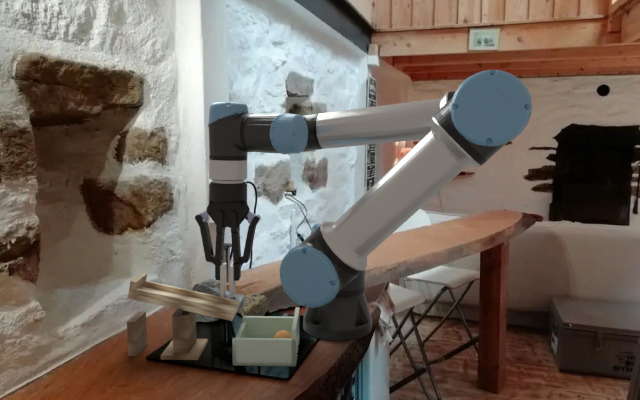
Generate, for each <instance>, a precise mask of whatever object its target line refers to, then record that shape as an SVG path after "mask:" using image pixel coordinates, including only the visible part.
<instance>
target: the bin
mask: <svg viewBox="0 0 640 400" xmlns="http://www.w3.org/2000/svg"><path fill="white" fill-rule="evenodd" d="M300 312H301V311H300V306H296V307H295V309H294V313H293V315H294V316H282V315H281V316H279V315H277V316H274V315H273V316H271V315H269V316H268V315H267V316H265V315H264V316H242V323H241V324H240V327H239V329H238V331H237V334H236V336H235V337H232V341H231V342H232V343H231V346H232V347H231V348H232V349H231V351H232V356H231V357H232V366H239V367H240V366H245V367H246V366H248V367H251V366H252V367H256V366H257V367H296V366H297V360H298V354H297V353H299V347H300V346H299V345H300V321H301V320H300V314H301V313H300ZM281 330H285V331H288V332H289V333H290V334H291V338H274V336H275V334H276V333H277V332H278V331H281ZM298 346H299V347H298Z"/></svg>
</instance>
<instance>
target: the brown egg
mask: <svg viewBox="0 0 640 400" xmlns="http://www.w3.org/2000/svg"><path fill="white" fill-rule="evenodd" d="M274 338H291V334H290V333H289V332H288V331H285V330H281V331H278V332H277V333H276V334H275V336H274Z"/></svg>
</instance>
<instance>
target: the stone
mask: <svg viewBox="0 0 640 400" xmlns="http://www.w3.org/2000/svg"><path fill="white" fill-rule="evenodd" d="M191 290H192V291H196V292H201V293H206V294H210V295H215V296H219V297H220V280H216V279H213V278H210V279H206V280H204V281H202V282H198V283H196V284H194V285H193V287H192V289H191ZM226 291H228V289H226ZM219 320H220V318H216V317H211V316H207V315H202V314H197V313H196V323H198V322H199V323H200V322H201V323H212V322H216V321H219Z"/></svg>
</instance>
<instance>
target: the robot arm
mask: <svg viewBox="0 0 640 400" xmlns="http://www.w3.org/2000/svg"><path fill="white" fill-rule="evenodd" d="M532 102H533V101H532V97H531V94H530V92H529V89H528V87H527V86H526V85H525V84H524V83H523V81H522V80H521V79H519V78H518V77H517V76H516V75H514V74H512V73H510V72H507V71H504V70H500V69H488V70H482V71H479V72H476V73H474V74H472V75H470V76H469V77H467V78H465V79H464V80H463V81H462V83H460V84H459V85H458V88H457V89H456V90H454V91H446V92H445V94H444V95H443V96H442V97H440V98H432V99H423V100H417V101H409V102H400V103H393V104H392V103H391V104H386V105H377V106H368V107H361V108H354V109H353V108H352V109H345V110H338V111H331V112H329V111H328V112H323V113H322V112H321V113H312V114H305V115H301V114H297V113H290V112H281V113H279V112H278V113H253V112H252V113H251V112H249V109H248V105H247V104H246V103H242V102H234V101H233V102H232V101H230V102H229V101H228V102H227V101H218V102H217V101H216V102H213V103H211V105H210V106H209V109H208V110H209V111H208V114H209V115H208V124H207V127H208V145H209V146H208V150H209V156H208V157H209V158H208V179H209V180H211V181H210V182H209V183H208V205H207V207H206V210H204V211H202V212H199V213H198V214H196V215H195V217H194V220H195V221H196V223H197V225H198V227H199V231H200V236H201V241H202V242H201V243H202V247H203V253H204V258H205V261H206V262H208V263H212V264H213V265H214V278H215V279H214V280H217V281H219V282H220V297H224V296H225V295H226V290H227V262H224V248H225V235H226V228H229V229H230V233H231V246H232V261H233V262H231V264H230V266H229V292H230V298H233V297H234V296H235V294H236V293H237V292H236V291H237V290H236V289H237V286H236V283H237V282H239V281H240V279H241V277H242V271H241V270H242V265H243V264H247V263H248V262H249V260H250V259H251V254H252V249H253V244H254V239H255V234H256V228H257V225H258V223H259V221H260V220H261V218H262V216H261V215H260V214H255V213H254V212H252V211H251V210H250V207H249V205H248V183H247V182H246V180H248V153H264V154H265V153H266V154H267V153H268V154H281V155H291V154H293V155H295V154H301V153H302V152H310V151H318V150H319V151H321V150H326V149H335V148H336V149H337V148H346V147H356V146H357V147H358V146H368V145H378V144H379V145H380V144H387V143H390V144H391V143H399V142H409V141H418V142H417V144H415V145H414V146H413V147H412V148H411V149H410V150H409V151H408V152H407V153H406V154H405V155H404V156H403V157H402V158H400V160H398V161H397V162H396V164H395V165H393V166H392V167H391V168H390V169H389V170H387V172H386V173H385V174H384V175H383V176H381V178H380V179H378V180H377V181H376V183H375V184H373V185H372V186H371V187H370V188H369V189H368V190H367V191H366V192H365V193H364V194H363V195H362V196H361V197H360V198H359V199H358V200H357V201H356V202H355V203H353V204H352V206H351V207H350V208H348V209H347V210H346V211H345V212H344V213H343V214H342V215H341V216H339V218H338V219H337V220H336V221H323V222H322V223H315V224H313V226H312V227H311V233H310V234H309V235H308V237H307V238H305V239H304V240H303V241H302V242H301V243H299V245H296V246H294V247H292V248H291V249H290V250H289V251H288V252H287V253H286V254H285V255H284V256H283V258H282V259H281V263H280V265H279V266H280V267H279V279H280V280H279V281H280V284H281V286H282V289H283V290H284V292H285V293H286V295H287V296H288V298H290V299H291V300H292V301H294V302H295V303H296V304H298V305H300V306H302V307H306V308H305V311H304V314H303V318H302V319H303V321H302V328H303V330H304V332H305V333H306V334H308V335H310V336H311V337H314V338H317V337H318V338H317V339H321V340H327V341H340V342H341V341H342V342H343V341H345V342H346V341H352V340H358V339H361V338H364V337H366V336H369V334H370V333H372V330H373V317H372V314H371V311H370V308H369V303H368V301H367V297H366V295H365V294H366V293H365V291H366V290H365V289H366V288H365V287H366V269H367V267H368V256H369V255H370V254H372V252H374V250H376V249H377V248H378V247H379V246H380V245H381V244H382V243H384V242H385V241H386V239H388V238H389V237H390V236H391V235H392V234H394V233H395V232H396V231H397V230H398V229H399V228H400V227H401V226H402V225H404V223H406V222H407V221H408V220H409V219H410V218H412V217H413V216H414V214H416V213H417V212H418V211H419V210H421V209H422V208H423V207H424V206H425V205H426V204H427V203H429V201H430V200H431V199H432V198H434V197H435V196H436V195H437V194H438V193H439V192H440V191H441V190H442V189H444V188H445V187H446V186H448V184H449V183H450V182H452V180H454V178H456V177H457V176H458V175H459V174H461V172H463V171H464V170H465V168H469V167H472V168H473V167H475V168H476V167H478V168H480V167H482V166H484V164H485V163H487V162H488V160H490V159H491V158H492V157H493V156H494V155H495V154H497V153H498V152H499V151H500V150H501V149H502V148H504V146H506V145H507V144H508V143H509V142H511V141H513V140H515V139H516V138H517V137H518V136H519V135H521V133H523V132H524V130H525V129H526V127H527V126H528V123H529V122H530V119H531V115H532V112H533V111H532V110H533V103H532ZM419 140H420V141H419ZM246 218H247V222H248V229H247V233H246V239H245V243H244V248H243V249H244V250H243V253H242V249H241V247H242V246H241V232H240V229H241V224H242V223H243V221H244V220H245V219H246ZM209 219H211V220H212V221H213V222H214V224H215V232H216V236H215V247H214V248H213V242H212V236H211V232H210V226H209V223H208V222H209ZM214 249H215V251H214Z"/></svg>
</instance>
